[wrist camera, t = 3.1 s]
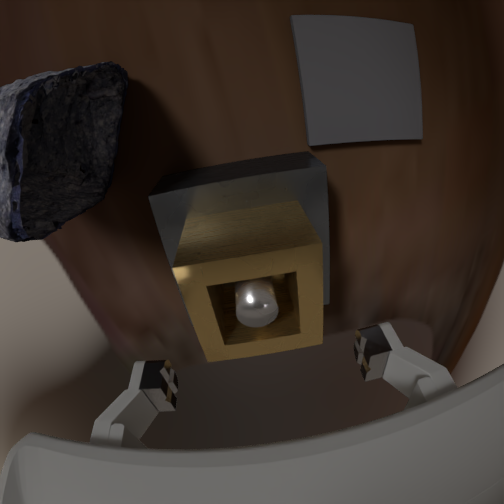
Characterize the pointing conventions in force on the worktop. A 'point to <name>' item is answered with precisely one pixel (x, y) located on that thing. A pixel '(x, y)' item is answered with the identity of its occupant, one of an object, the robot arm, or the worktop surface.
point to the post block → (240, 197)
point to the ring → (249, 267)
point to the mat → (357, 78)
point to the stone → (57, 146)
